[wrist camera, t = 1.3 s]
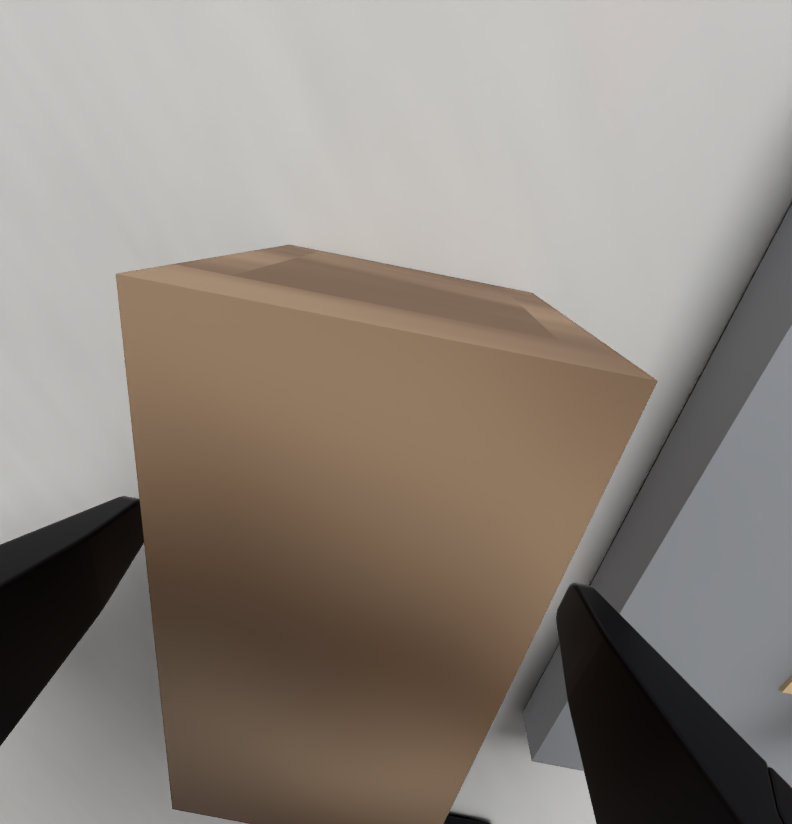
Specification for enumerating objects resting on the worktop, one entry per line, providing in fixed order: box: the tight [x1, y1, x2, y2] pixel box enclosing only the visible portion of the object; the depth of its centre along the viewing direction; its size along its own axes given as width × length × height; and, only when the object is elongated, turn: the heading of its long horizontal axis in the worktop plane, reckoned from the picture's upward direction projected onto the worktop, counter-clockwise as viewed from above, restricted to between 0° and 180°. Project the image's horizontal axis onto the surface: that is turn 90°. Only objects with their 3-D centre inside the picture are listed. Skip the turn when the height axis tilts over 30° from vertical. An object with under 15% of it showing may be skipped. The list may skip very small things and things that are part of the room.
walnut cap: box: [116, 245, 657, 824], centre depth 9 cm, size 11×5×6 cm, turn 170°
